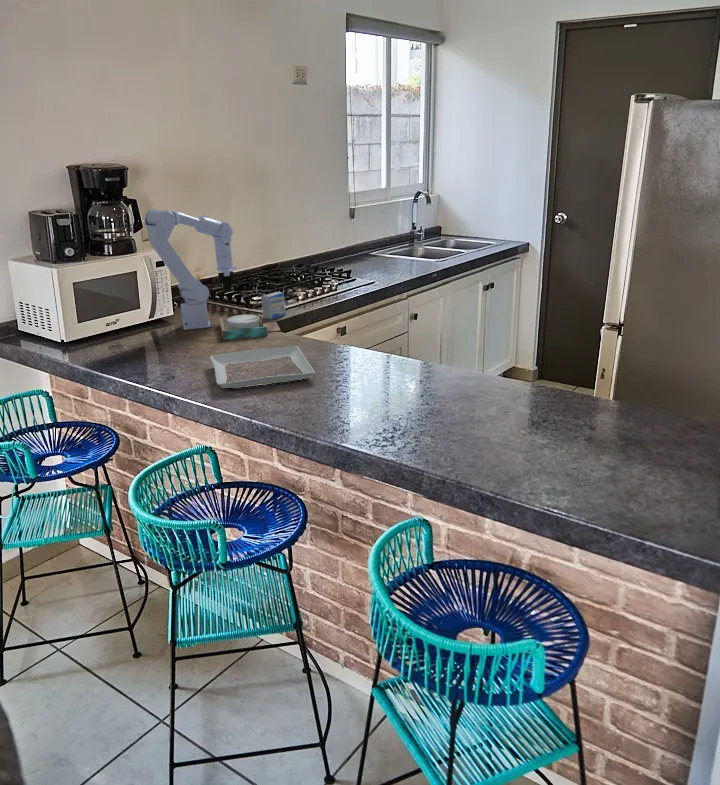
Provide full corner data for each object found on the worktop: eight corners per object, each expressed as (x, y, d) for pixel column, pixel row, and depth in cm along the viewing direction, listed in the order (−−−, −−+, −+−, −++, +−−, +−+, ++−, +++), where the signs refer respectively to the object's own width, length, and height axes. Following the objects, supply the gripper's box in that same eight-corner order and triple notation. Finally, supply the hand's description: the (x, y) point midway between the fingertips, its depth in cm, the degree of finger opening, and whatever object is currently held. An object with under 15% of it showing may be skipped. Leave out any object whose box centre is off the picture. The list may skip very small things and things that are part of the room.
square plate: (218, 396, 190) (216, 383, 189) (210, 366, 215) (209, 354, 214) (317, 383, 197) (316, 370, 195) (298, 355, 222) (297, 343, 220)
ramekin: (255, 337, 241) (253, 322, 239) (223, 337, 243) (222, 322, 241) (264, 328, 251) (263, 314, 250) (234, 328, 253) (233, 314, 251)
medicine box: (271, 319, 262) (269, 296, 259) (262, 318, 265) (260, 295, 262) (285, 315, 268) (284, 292, 265) (277, 313, 271) (275, 291, 268)
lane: (223, 340, 240) (222, 331, 239) (220, 325, 258) (219, 317, 257) (282, 334, 244) (281, 325, 243) (274, 319, 262) (274, 312, 261)
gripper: (236, 257, 254) (240, 294, 259) (233, 251, 267) (237, 286, 272) (216, 259, 252) (220, 296, 257) (214, 252, 265) (218, 288, 270)
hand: (227, 291), depth 264 cm, fingers closed
